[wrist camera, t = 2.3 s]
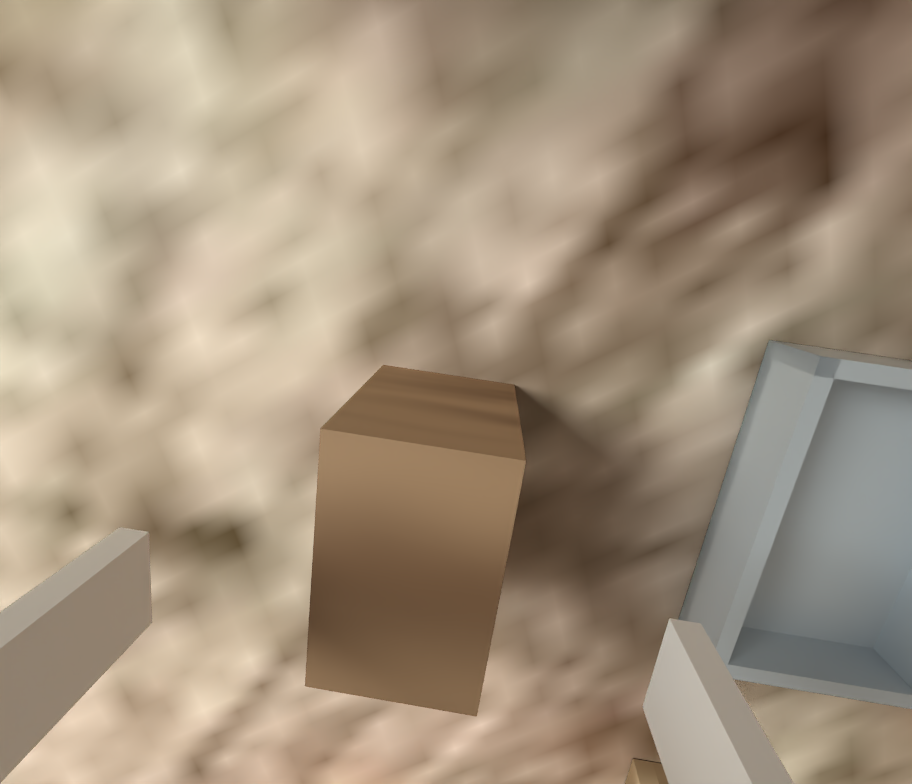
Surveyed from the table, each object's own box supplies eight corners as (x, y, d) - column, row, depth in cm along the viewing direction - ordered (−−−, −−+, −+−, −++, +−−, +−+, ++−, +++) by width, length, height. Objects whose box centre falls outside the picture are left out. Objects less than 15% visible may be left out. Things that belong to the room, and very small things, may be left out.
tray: (769, 340, 17) (821, 356, 14) (1002, 374, 17) (1099, 396, 14) (678, 619, 20) (706, 674, 18) (871, 650, 20) (929, 712, 17)
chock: (383, 364, 18) (320, 428, 12) (514, 384, 18) (526, 460, 12) (366, 545, 21) (305, 686, 14) (482, 564, 20) (476, 716, 14)
